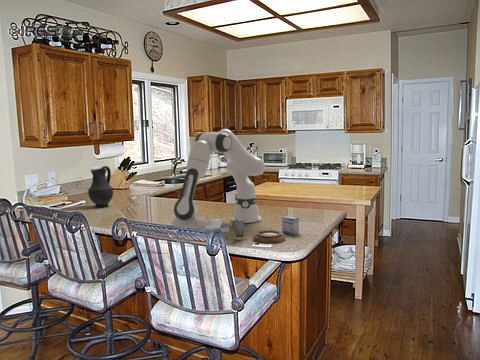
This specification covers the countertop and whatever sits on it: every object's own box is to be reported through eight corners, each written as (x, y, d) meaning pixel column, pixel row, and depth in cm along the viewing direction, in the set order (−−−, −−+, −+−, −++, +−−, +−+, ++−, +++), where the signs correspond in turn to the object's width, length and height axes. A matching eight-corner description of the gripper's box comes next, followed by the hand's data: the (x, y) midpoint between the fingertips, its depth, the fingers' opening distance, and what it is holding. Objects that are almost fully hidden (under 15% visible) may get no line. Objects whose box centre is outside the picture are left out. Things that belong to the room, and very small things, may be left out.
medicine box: (281, 233, 217) (281, 217, 216) (286, 231, 220) (286, 215, 219) (294, 235, 212) (294, 219, 211) (299, 233, 216) (299, 217, 215)
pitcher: (84, 208, 298) (81, 167, 294) (101, 203, 317) (99, 165, 314) (104, 209, 293) (102, 168, 289) (121, 204, 312) (119, 165, 309)
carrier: (254, 234, 214) (254, 229, 214) (284, 235, 213) (284, 229, 212) (252, 243, 198) (252, 237, 198) (285, 243, 197) (285, 237, 196)
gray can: (234, 237, 210) (233, 218, 209) (246, 237, 210) (246, 218, 209) (232, 240, 204) (232, 220, 203) (245, 240, 203) (245, 221, 202)
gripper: (199, 225, 198) (227, 226, 196) (207, 216, 218) (232, 217, 216) (199, 238, 198) (227, 238, 197) (207, 228, 219) (232, 228, 217)
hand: (230, 227), depth 207 cm, fingers open, 8 cm apart
